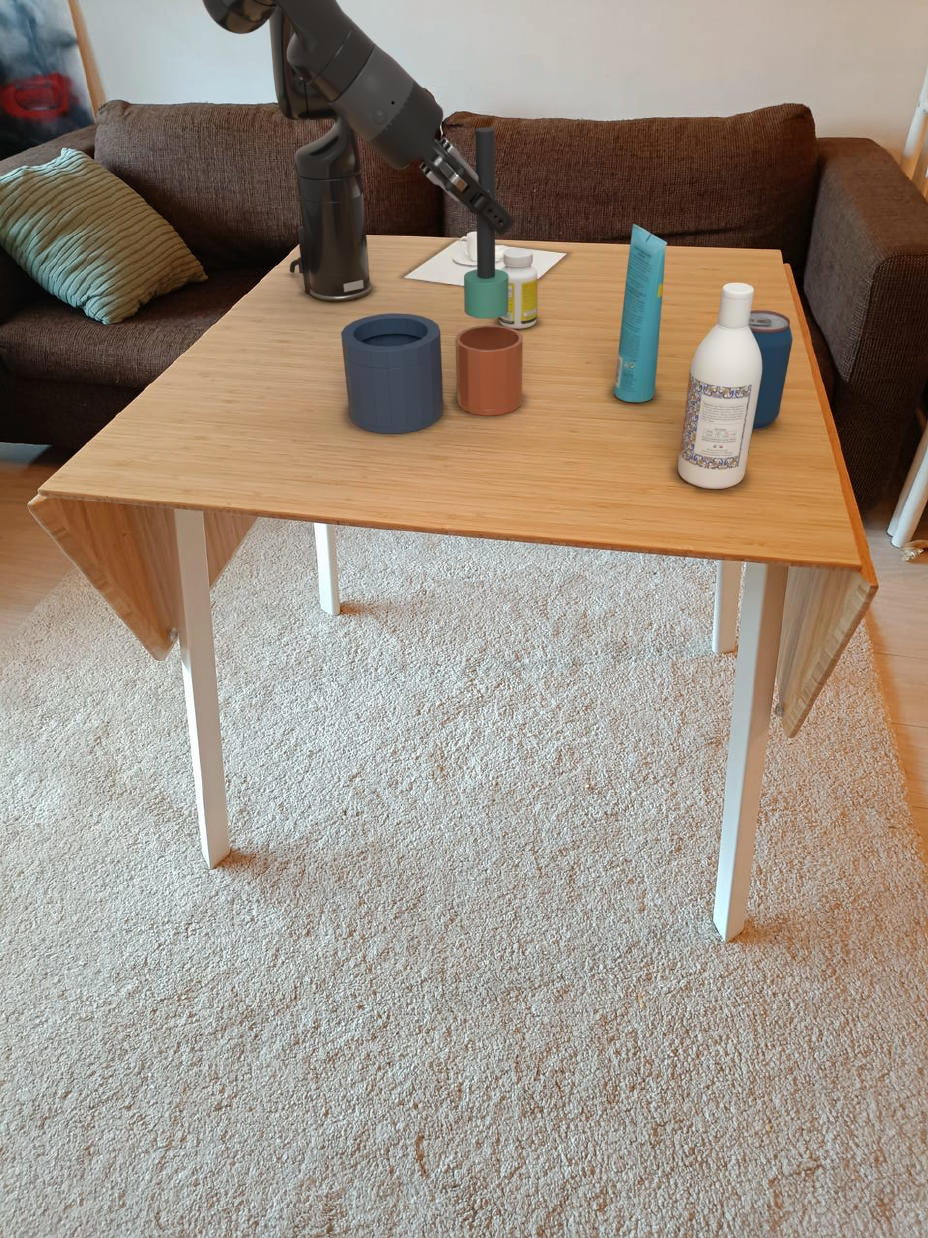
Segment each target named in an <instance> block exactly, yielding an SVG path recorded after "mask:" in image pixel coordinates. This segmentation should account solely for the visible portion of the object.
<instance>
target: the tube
mask: <svg viewBox="0 0 928 1238" xmlns="http://www.w3.org/2000/svg"><path fill="white" fill-rule="evenodd" d="M667 245H668V242H667V241H665V240H663V239H662V238H659V236H656V235H654V234H652V233H650V232H649V231H647V230H646V229H644V228H642V227H640V226H638V225H636V224H635V223H633V224H632V229H631V237H630V244H629V252H628V260H627V268H626V277H625V287H624V293H623V294H624V296H623V305H622V312H621V313H622V314H621V322H620V323H621V324H620V333H619V343H618V350H617V351H618V352H617V361H616V369H615V370H616V371H615V381H614V391H613V394H614V396H615V397H616V398H617V399H619V400H621V401H623V402H628V403H644V402H648V401H650V400H652V399H653V398H654V397H655V392H656V381H657V367H658V355H659V343H660V330H661V318H662V306H663V293H664V283H665V282H664V280H665V264H666V263H665V262H666V247H667Z"/></svg>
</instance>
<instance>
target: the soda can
mask: <svg viewBox="0 0 928 1238" xmlns="http://www.w3.org/2000/svg"><path fill="white" fill-rule="evenodd" d="M790 325H791V320H790V318H789V317H788V316H786V315H785V314H782V313H780V312H776V311H772V310H766V309H765V310H763V309H759V310H758V309H756V310H755V309H754V310H752V309H751V313H750V319H749V323H748V326H749V328H750V330H751V332H752V334H753V336H754V338H755V340H756V342H757V344H758V347H759V349H760V353H761V358H762V378H761V384H760V390H759V395H758V401H757V407H756V413H755V418H754V424H753V430H752V432H760V431H763V430H766V429H767V428H769V427H770V426H771V425H772V424H773V423H774V422H775V421H776V419H777V418H778V417H779V415H780V411H781V405H782V398H783V393H784V389H785V383H786V379H787V372H788V367H789V361H790V356H791V351H792V346H793V341H794V336H793V333H792V329H791V327H790Z"/></svg>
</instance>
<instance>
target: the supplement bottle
mask: <svg viewBox="0 0 928 1238" xmlns="http://www.w3.org/2000/svg"><path fill="white" fill-rule="evenodd" d="M529 249H530V248H524V247H523V248H522V247H516V248H512V249H508V250H506V251H504V256H503V261H504V264H505V266H504V267H503V268H501V269H500V270H502V271H504V272H506V273H507V274H508V312H507V314H505V315H504V316H501V317H498V322H499V324H500V326H504V327H509V328H512V329H514V330H517V329H518V330H519V329H528V328H531V327H533V326H534V325H536V323H537V321H538V320H537V319H538V279H537V271H536V269H535V268H534V267H533V266H531V264H532V263H533V262H532V261H533V252H532V251H531V250H529Z"/></svg>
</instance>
